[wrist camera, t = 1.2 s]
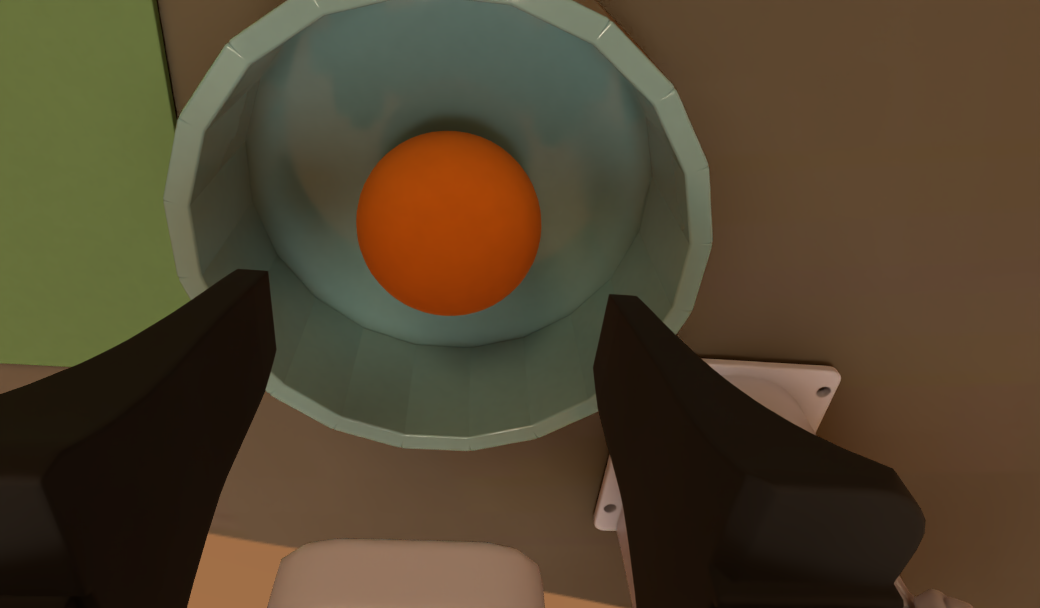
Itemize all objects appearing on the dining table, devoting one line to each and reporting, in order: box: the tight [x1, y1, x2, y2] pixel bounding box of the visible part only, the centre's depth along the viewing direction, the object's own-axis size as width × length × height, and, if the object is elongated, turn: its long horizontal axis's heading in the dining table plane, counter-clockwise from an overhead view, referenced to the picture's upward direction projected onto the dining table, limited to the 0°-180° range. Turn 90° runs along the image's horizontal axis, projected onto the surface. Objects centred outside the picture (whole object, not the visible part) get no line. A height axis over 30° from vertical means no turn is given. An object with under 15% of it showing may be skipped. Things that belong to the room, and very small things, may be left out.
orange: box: [356, 131, 541, 316], centre depth 18 cm, size 5×5×5 cm
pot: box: [163, 0, 713, 451], centre depth 19 cm, size 13×13×5 cm
